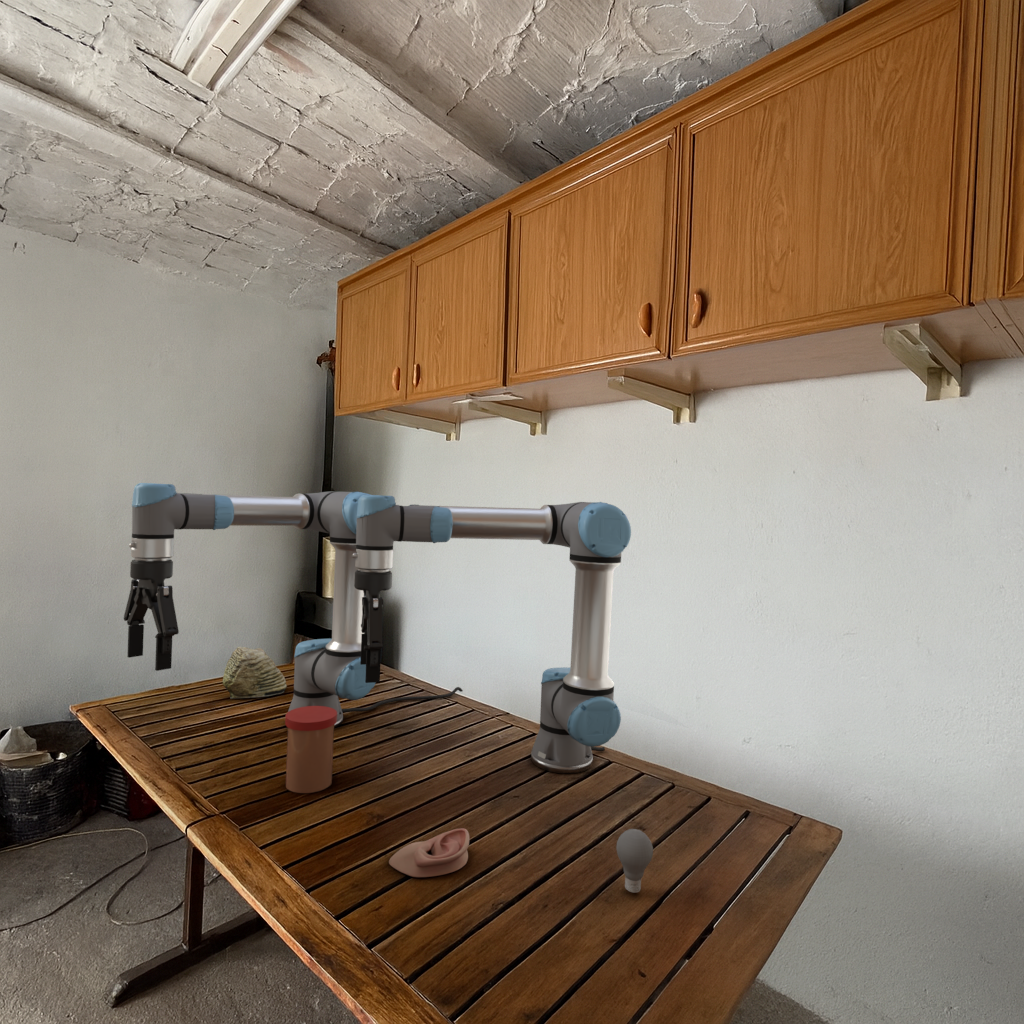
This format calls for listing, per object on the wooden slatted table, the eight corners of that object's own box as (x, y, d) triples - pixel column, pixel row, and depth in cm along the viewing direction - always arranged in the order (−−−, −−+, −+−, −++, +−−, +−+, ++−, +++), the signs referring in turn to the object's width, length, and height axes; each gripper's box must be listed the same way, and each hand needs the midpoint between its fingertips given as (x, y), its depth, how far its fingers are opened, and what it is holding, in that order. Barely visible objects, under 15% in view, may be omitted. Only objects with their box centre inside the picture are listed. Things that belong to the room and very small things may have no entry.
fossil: (218, 695, 195) (220, 647, 195) (278, 685, 208) (279, 640, 207) (228, 703, 189) (230, 653, 188) (289, 692, 201) (290, 645, 201)
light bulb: (610, 879, 108) (613, 822, 108) (644, 879, 109) (647, 822, 109) (619, 902, 102) (622, 840, 102) (655, 901, 103) (658, 840, 103)
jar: (316, 769, 147) (319, 705, 146) (340, 783, 140) (343, 716, 140) (277, 782, 139) (279, 715, 139) (300, 797, 133) (303, 727, 133)
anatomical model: (382, 848, 108) (407, 816, 119) (381, 871, 108) (406, 837, 119) (457, 861, 105) (475, 826, 116) (456, 884, 105) (474, 848, 116)
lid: (319, 710, 147) (319, 702, 147) (346, 722, 140) (347, 714, 140) (275, 721, 139) (276, 713, 139) (302, 734, 132) (302, 726, 132)
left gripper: (108, 554, 134) (104, 654, 134) (159, 565, 118) (155, 678, 119) (146, 552, 140) (143, 648, 140) (199, 563, 124) (195, 671, 124)
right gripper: (351, 563, 141) (347, 657, 141) (359, 577, 117) (354, 691, 117) (385, 563, 143) (381, 656, 143) (399, 577, 119) (395, 689, 120)
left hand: (148, 662), depth 129 cm, fingers open, 13 cm apart
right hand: (369, 672), depth 130 cm, fingers open, 13 cm apart
